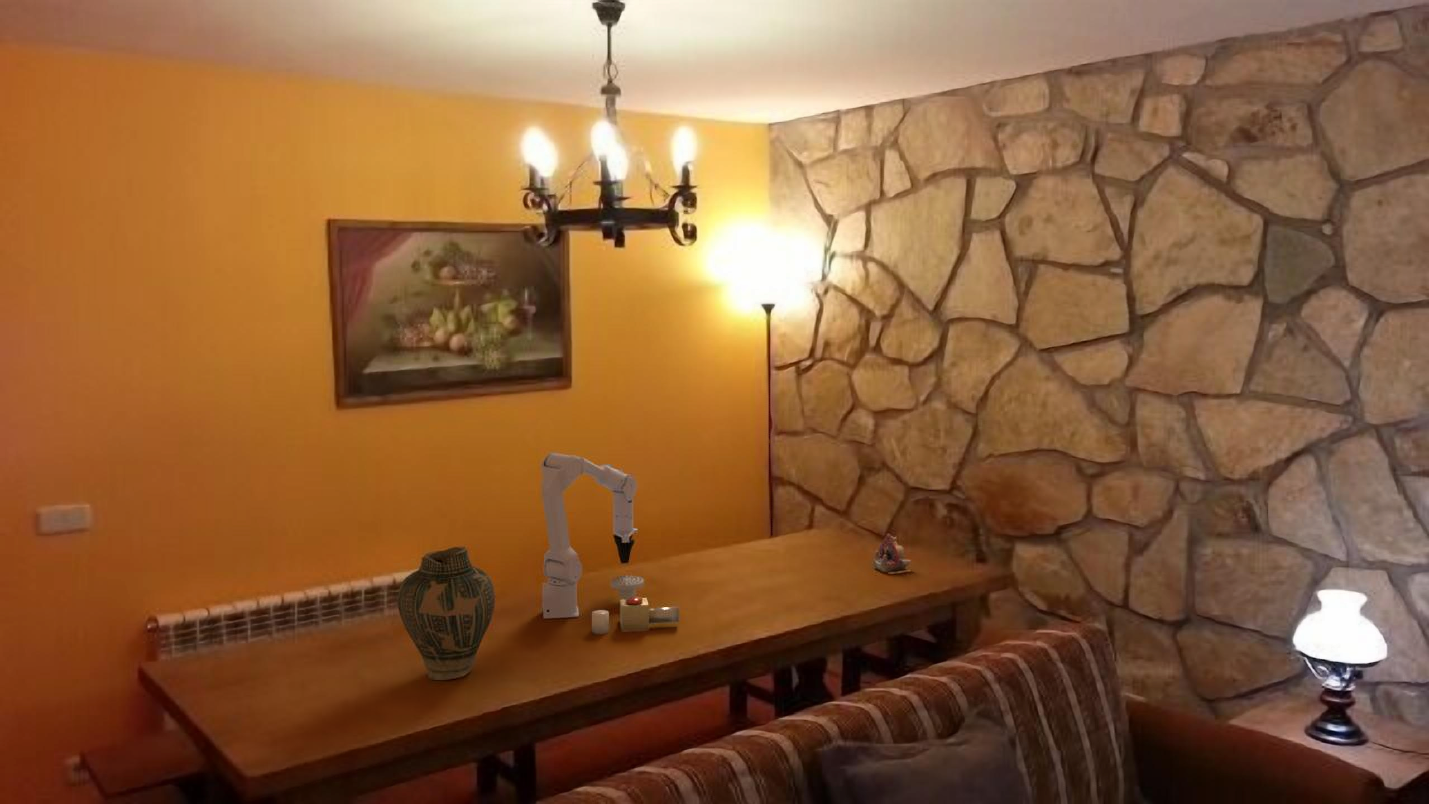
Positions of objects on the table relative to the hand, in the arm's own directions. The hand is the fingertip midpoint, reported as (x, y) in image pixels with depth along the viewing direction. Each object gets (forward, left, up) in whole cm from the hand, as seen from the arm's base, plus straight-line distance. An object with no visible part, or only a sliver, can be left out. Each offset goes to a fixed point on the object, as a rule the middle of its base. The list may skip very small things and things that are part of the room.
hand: (623, 560), depth 331 cm
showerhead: (0, -10, -10) cm, 14 cm away
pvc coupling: (-9, -33, -10) cm, 35 cm away
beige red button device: (+4, -29, -9) cm, 31 cm away
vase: (-46, -57, -10) cm, 73 cm away
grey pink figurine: (+83, +10, -10) cm, 85 cm away
